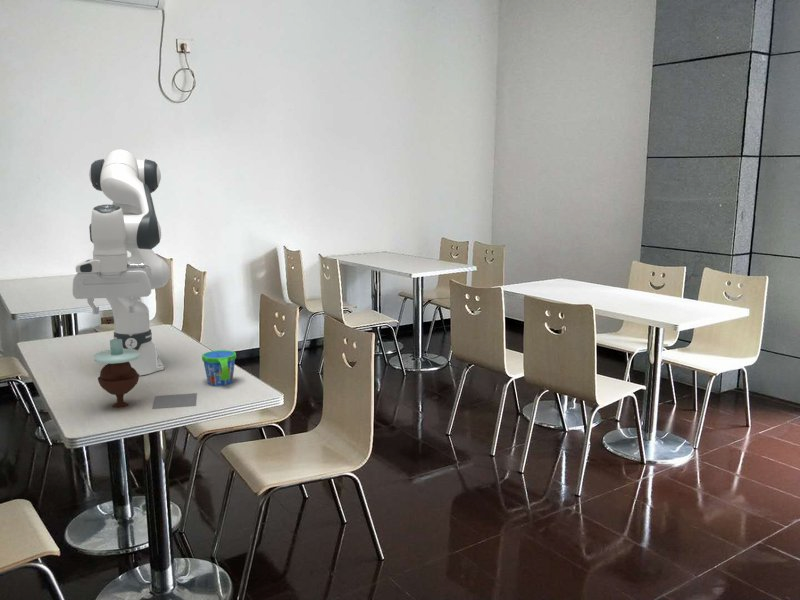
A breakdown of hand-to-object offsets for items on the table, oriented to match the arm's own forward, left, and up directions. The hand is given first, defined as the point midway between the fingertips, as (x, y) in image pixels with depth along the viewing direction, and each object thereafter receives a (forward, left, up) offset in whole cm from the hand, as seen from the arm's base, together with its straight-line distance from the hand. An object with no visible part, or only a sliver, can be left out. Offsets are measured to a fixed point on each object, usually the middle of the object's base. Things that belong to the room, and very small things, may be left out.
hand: (114, 313), depth 195 cm
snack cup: (-17, +28, -28) cm, 43 cm away
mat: (-1, +15, -28) cm, 32 cm away
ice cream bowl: (0, 0, -28) cm, 28 cm away
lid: (0, 0, -13) cm, 13 cm away
